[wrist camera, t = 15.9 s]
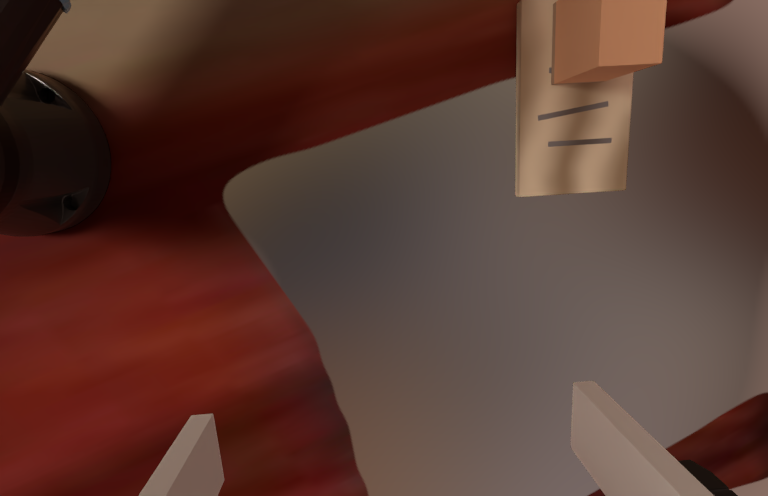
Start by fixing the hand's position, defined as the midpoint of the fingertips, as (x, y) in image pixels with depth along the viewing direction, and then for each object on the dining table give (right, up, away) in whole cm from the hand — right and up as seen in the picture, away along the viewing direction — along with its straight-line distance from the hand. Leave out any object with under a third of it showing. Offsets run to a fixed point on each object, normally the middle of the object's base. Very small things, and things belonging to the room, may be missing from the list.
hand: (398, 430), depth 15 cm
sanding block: (+18, +26, +24) cm, 39 cm away
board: (+18, +21, +26) cm, 38 cm away
